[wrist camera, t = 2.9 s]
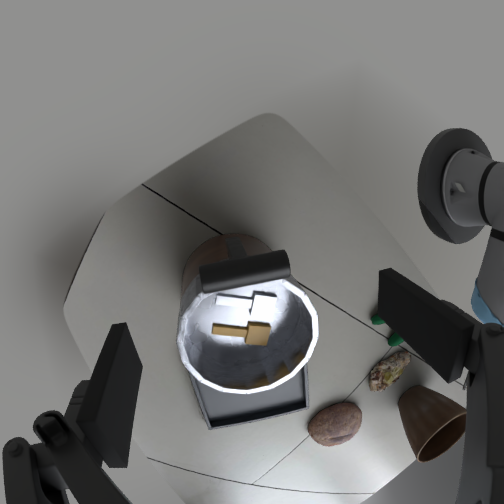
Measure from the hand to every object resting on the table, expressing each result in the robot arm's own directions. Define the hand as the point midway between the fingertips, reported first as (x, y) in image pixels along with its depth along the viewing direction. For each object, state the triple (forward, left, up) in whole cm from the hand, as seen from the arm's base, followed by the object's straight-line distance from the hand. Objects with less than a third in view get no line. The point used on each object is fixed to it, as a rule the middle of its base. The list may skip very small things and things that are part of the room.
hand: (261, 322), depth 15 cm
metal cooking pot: (-6, +6, -19) cm, 20 cm away
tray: (-21, +21, -29) cm, 41 cm away
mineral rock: (-45, +6, -29) cm, 54 cm away
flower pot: (-60, +9, -29) cm, 67 cm away
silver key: (-6, +5, -18) cm, 20 cm away
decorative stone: (-44, +22, -29) cm, 57 cm away
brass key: (-8, +9, -18) cm, 22 cm away
